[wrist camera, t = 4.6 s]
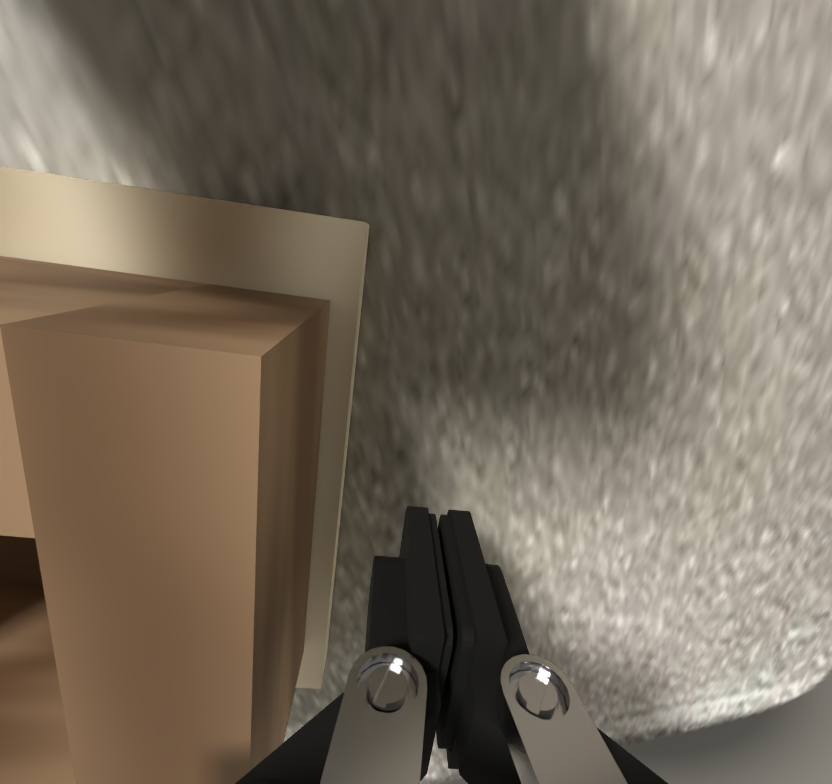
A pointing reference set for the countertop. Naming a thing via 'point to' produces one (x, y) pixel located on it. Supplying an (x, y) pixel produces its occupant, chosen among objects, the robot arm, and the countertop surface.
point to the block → (152, 522)
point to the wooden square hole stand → (226, 266)
